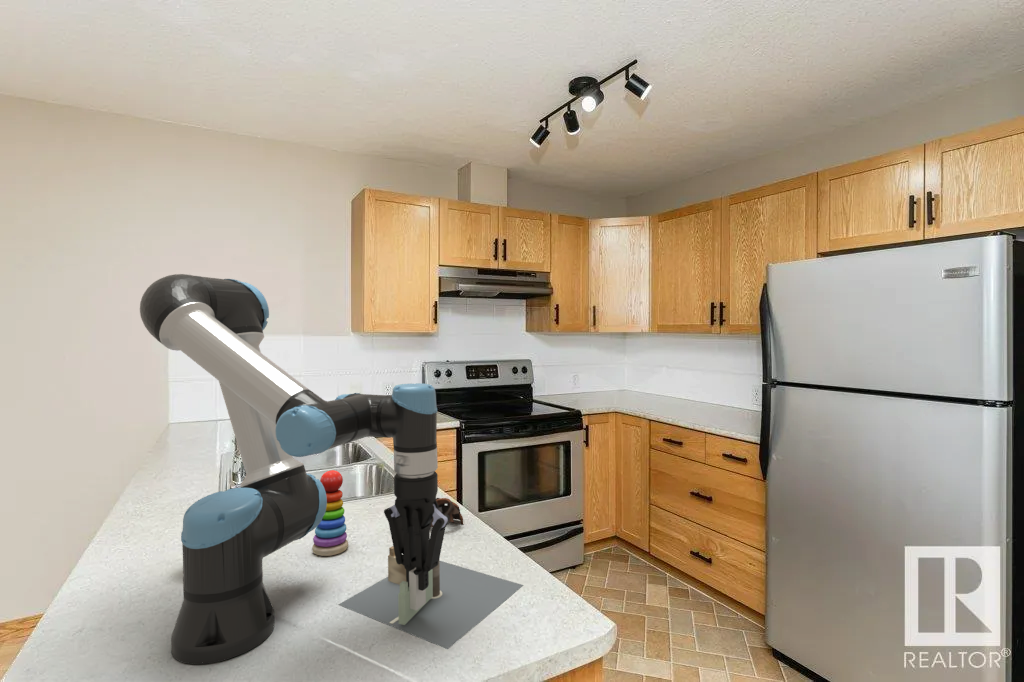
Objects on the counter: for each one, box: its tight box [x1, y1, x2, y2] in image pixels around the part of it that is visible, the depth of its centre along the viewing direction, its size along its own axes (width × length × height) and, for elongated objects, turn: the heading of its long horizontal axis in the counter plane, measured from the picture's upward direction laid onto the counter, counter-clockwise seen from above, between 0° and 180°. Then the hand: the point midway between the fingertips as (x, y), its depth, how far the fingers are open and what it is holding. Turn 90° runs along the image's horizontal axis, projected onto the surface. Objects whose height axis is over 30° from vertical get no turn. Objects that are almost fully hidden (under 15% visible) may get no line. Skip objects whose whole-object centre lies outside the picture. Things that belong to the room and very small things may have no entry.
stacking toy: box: [311, 469, 349, 557], centre depth 120 cm, size 8×8×19 cm
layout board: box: [337, 560, 524, 650], centre depth 98 cm, size 24×26×1 cm
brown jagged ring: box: [431, 497, 464, 528], centre depth 136 cm, size 12×10×8 cm
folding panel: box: [398, 569, 433, 625], centre depth 92 cm, size 10×1×7 cm, turn 160°
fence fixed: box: [387, 545, 441, 597], centre depth 101 cm, size 13×2×8 cm, turn 58°
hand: (417, 605), depth 90 cm, fingers closed
